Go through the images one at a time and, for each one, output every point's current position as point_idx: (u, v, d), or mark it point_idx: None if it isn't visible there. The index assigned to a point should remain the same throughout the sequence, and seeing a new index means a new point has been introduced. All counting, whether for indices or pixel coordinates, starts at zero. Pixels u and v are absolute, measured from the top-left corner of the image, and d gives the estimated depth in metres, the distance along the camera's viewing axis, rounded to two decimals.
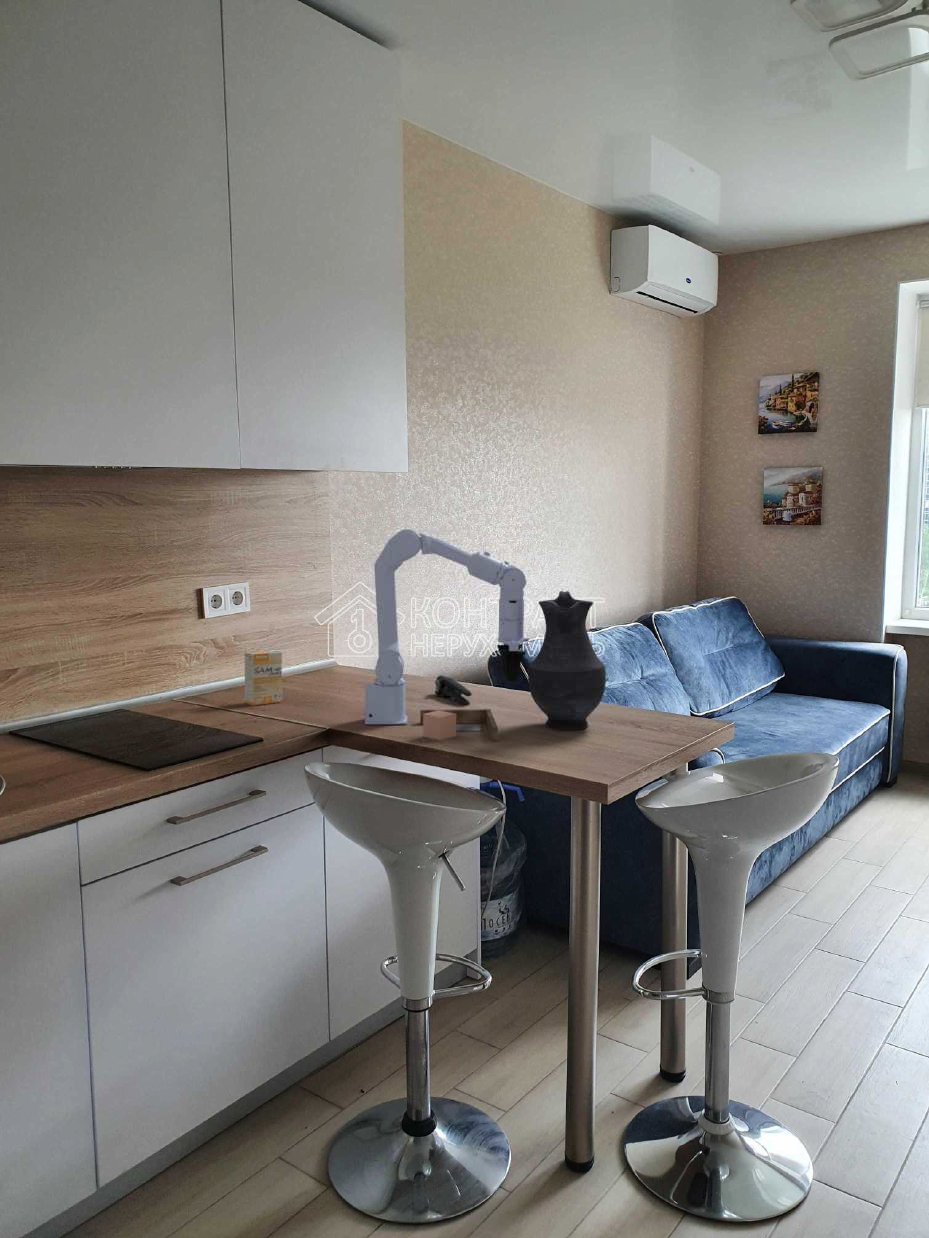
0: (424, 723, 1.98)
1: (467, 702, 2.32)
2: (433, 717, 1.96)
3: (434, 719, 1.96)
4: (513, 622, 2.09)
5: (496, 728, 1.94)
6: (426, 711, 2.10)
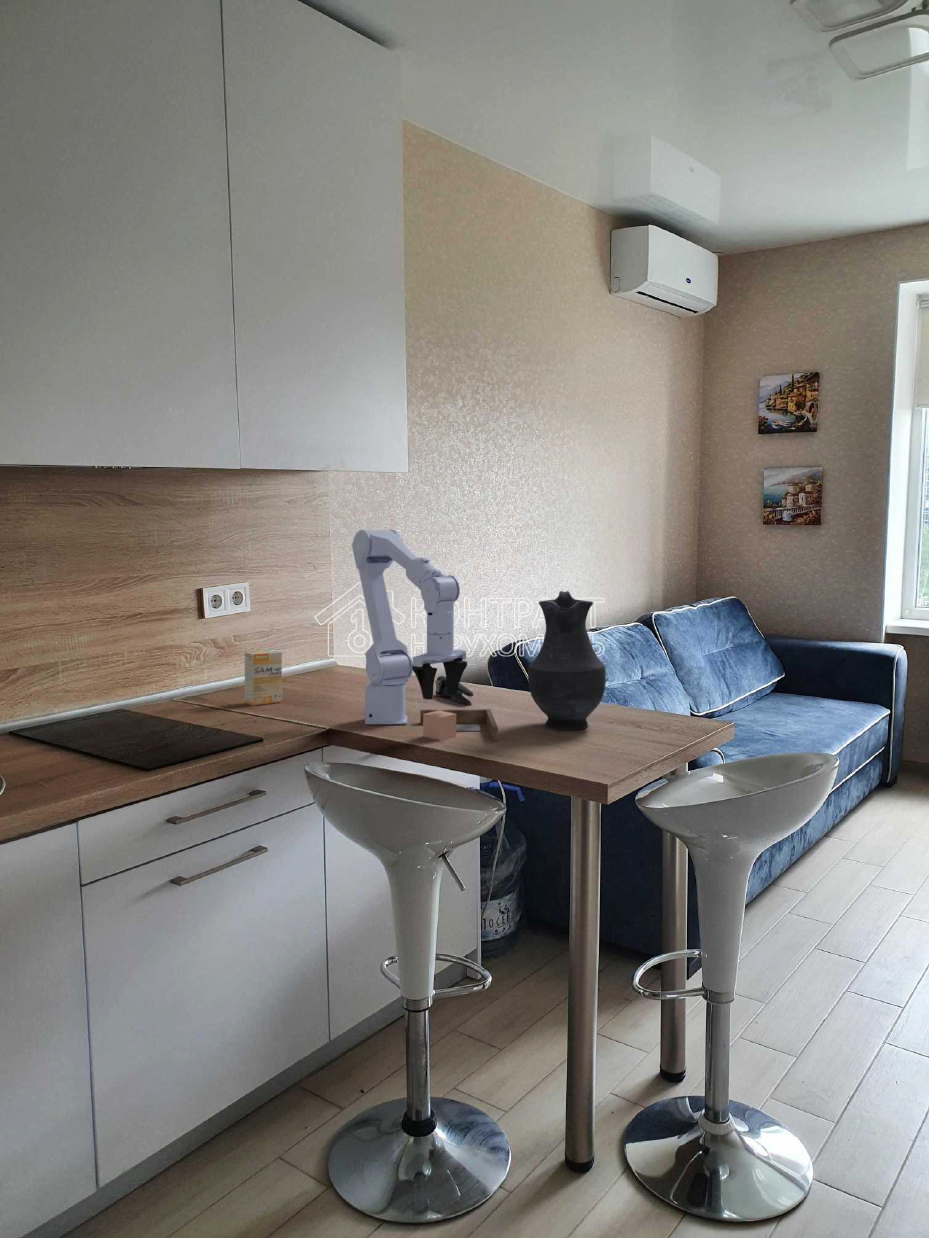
0: (424, 723, 1.98)
1: (469, 702, 2.31)
2: (433, 717, 1.96)
3: (434, 719, 1.96)
4: (431, 636, 1.94)
5: (496, 728, 1.94)
6: (426, 711, 2.10)
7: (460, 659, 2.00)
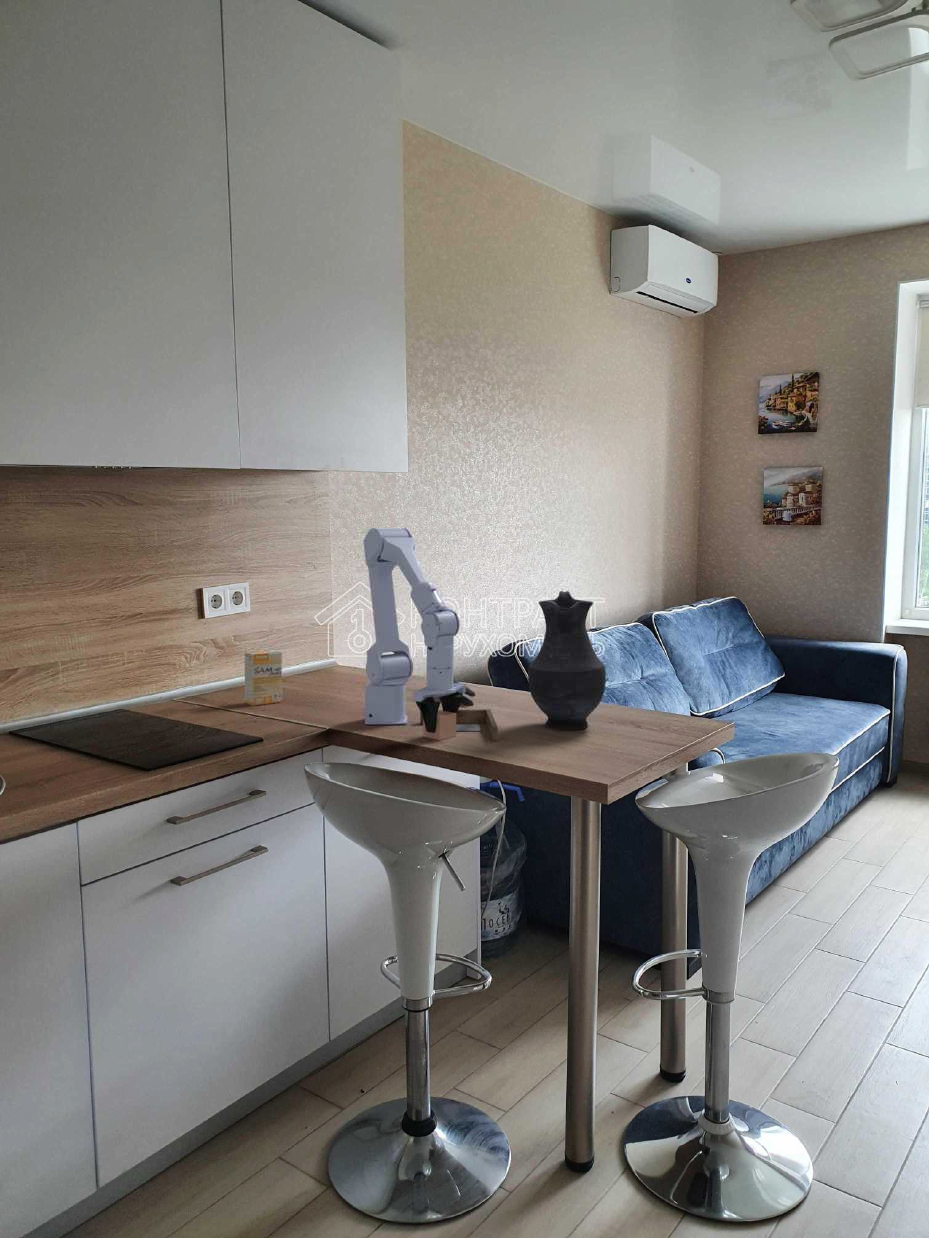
0: (424, 723, 1.98)
1: (471, 702, 2.31)
2: None
3: None
4: (431, 670, 1.95)
5: (496, 728, 1.94)
6: None
7: None
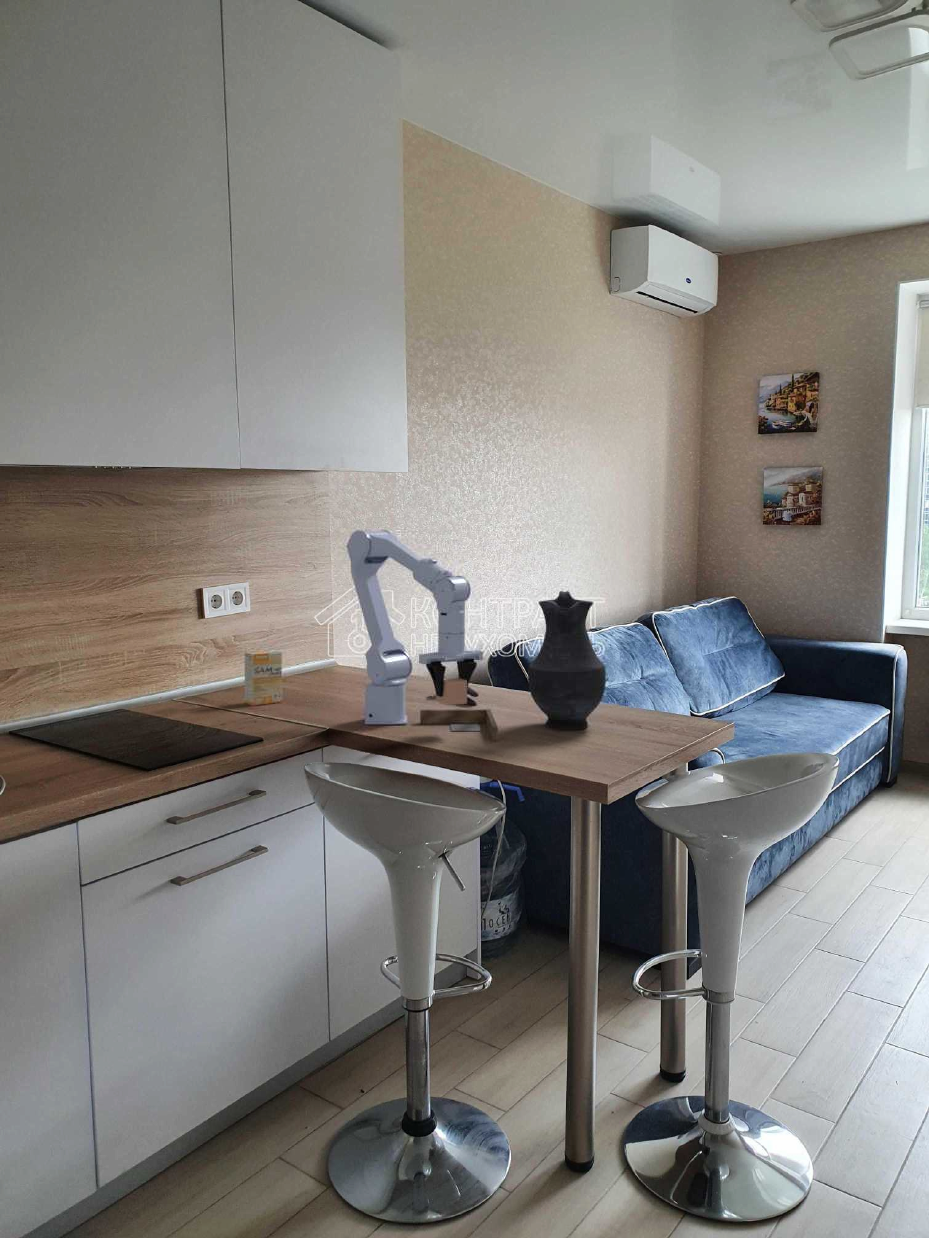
0: None
1: (474, 703, 2.31)
2: None
3: None
4: (440, 635, 1.98)
5: (496, 728, 1.94)
6: (426, 711, 2.10)
7: (475, 659, 2.02)
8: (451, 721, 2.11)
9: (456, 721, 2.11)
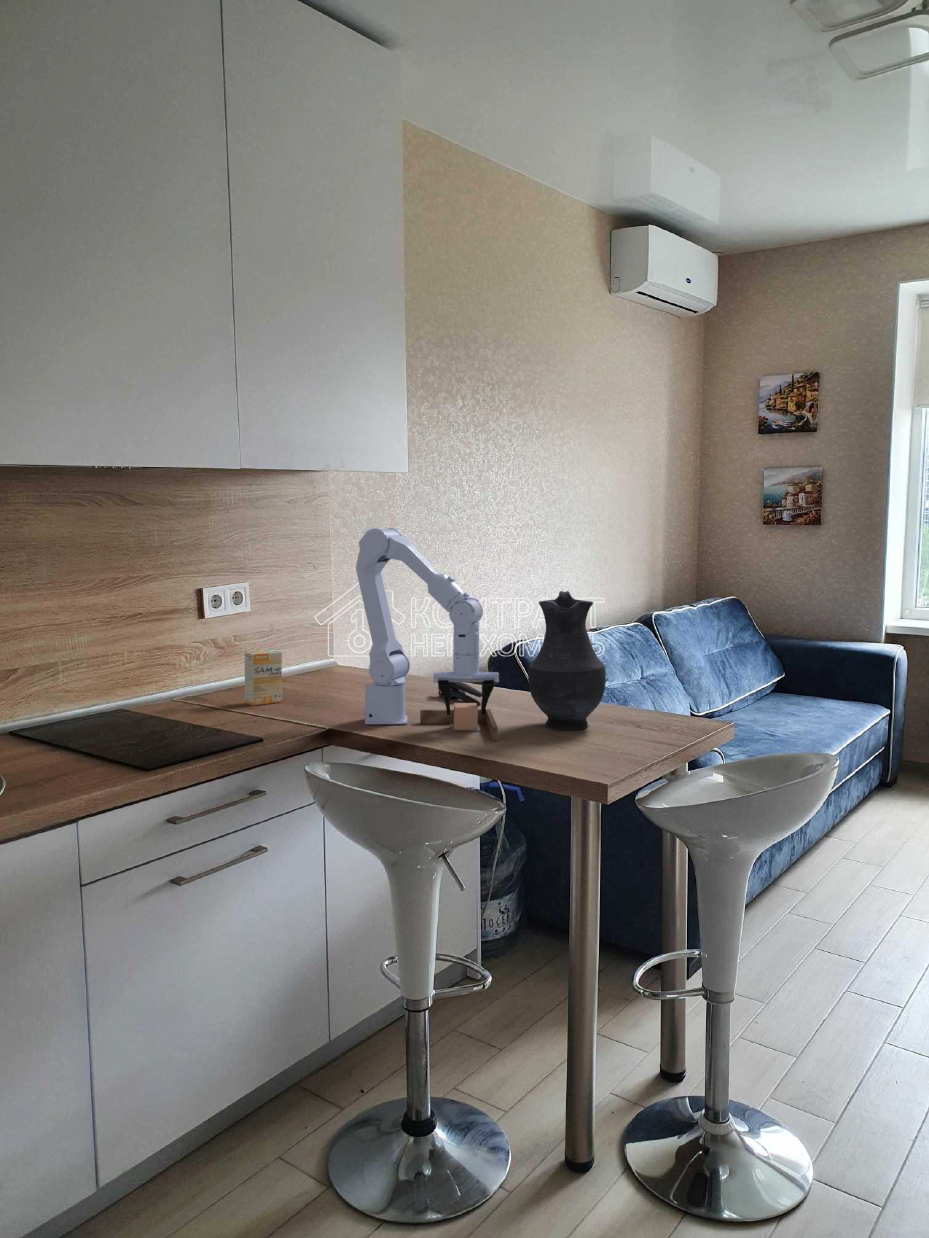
0: None
1: (478, 703, 2.31)
2: (454, 707, 2.05)
3: (454, 708, 2.05)
4: (453, 655, 2.04)
5: (496, 728, 1.94)
6: (426, 711, 2.10)
7: (491, 681, 2.05)
8: (451, 721, 2.11)
9: None
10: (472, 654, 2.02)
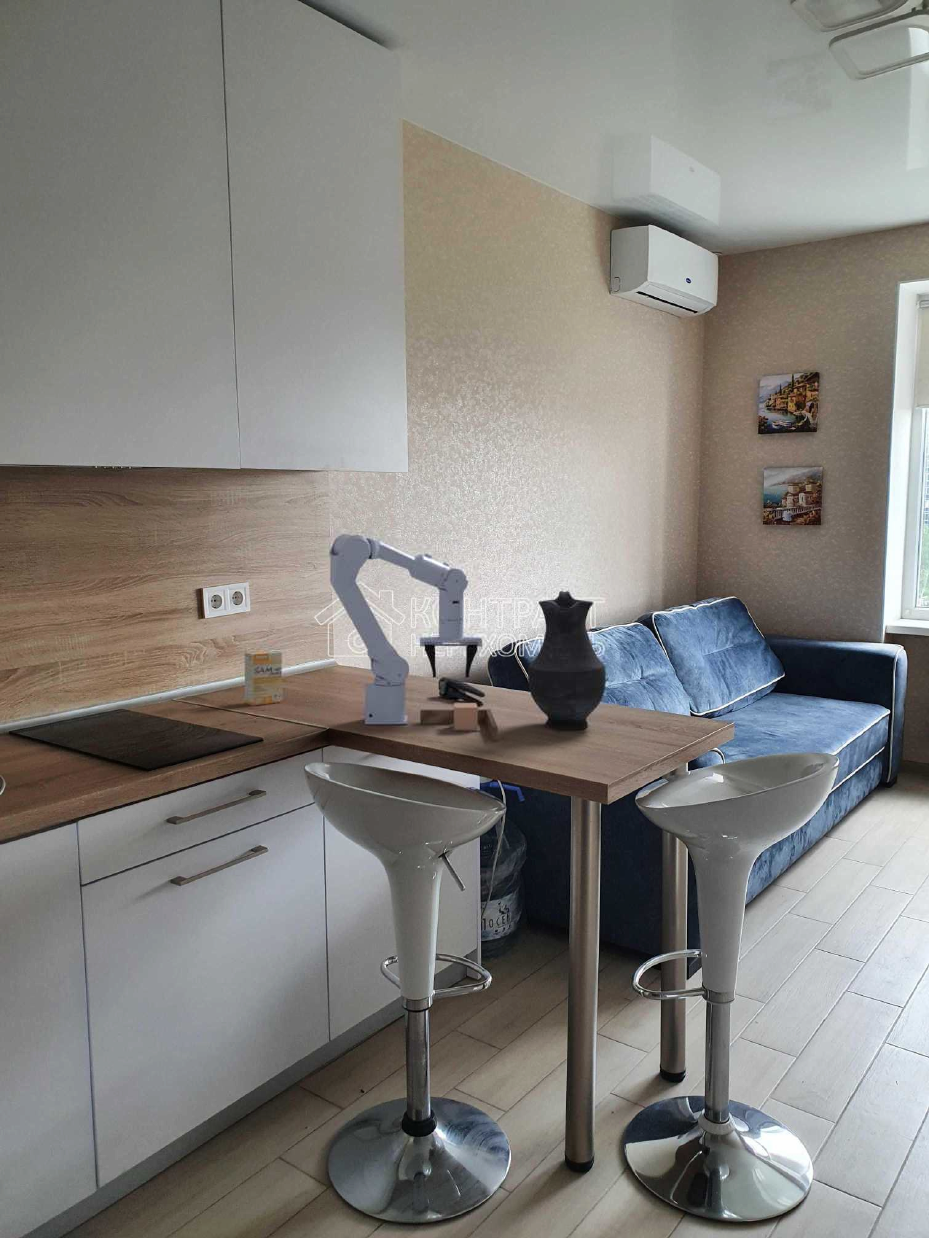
0: None
1: (481, 703, 2.31)
2: (454, 707, 2.05)
3: (454, 708, 2.05)
4: (439, 621, 2.16)
5: (496, 728, 1.94)
6: (426, 711, 2.10)
7: (474, 646, 2.16)
8: (451, 721, 2.11)
9: None
10: (456, 619, 2.14)
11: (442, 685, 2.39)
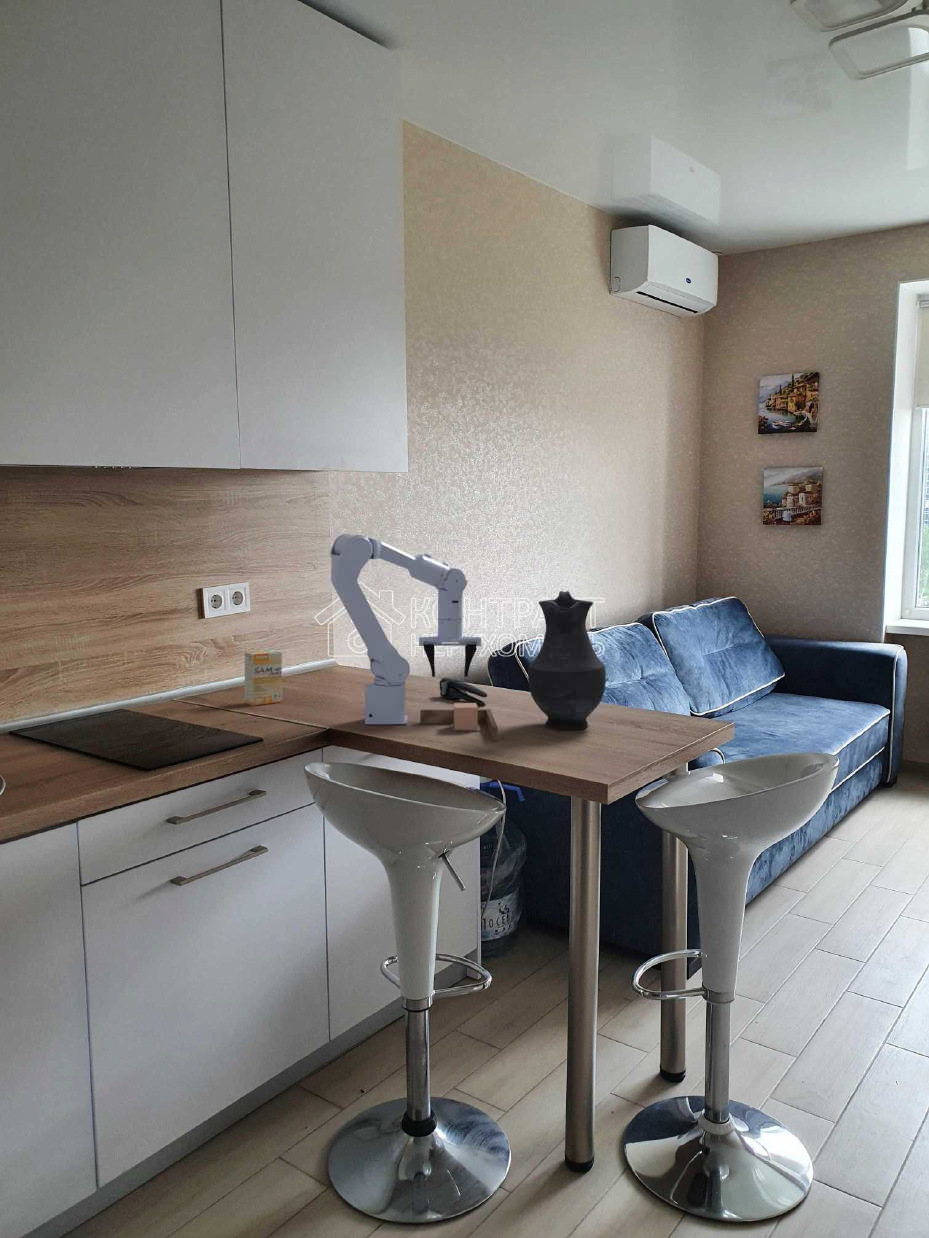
0: None
1: (483, 703, 2.31)
2: (454, 707, 2.05)
3: (454, 708, 2.05)
4: (438, 620, 2.17)
5: (496, 728, 1.94)
6: (426, 711, 2.10)
7: (473, 645, 2.17)
8: (451, 721, 2.11)
9: None
10: (455, 619, 2.15)
11: (443, 685, 2.38)
